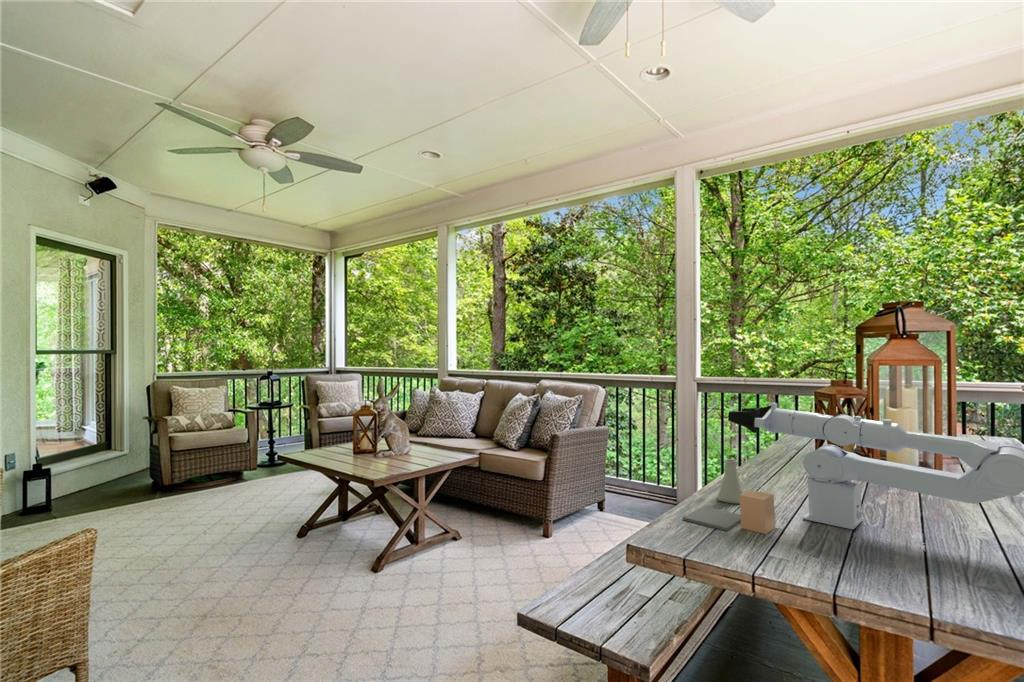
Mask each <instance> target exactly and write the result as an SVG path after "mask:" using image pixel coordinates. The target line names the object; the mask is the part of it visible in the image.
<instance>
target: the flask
mask: <svg viewBox="0 0 1024 682" xmlns="http://www.w3.org/2000/svg"><path fill="white" fill-rule="evenodd" d="M723 463H724V465H725V466H724V467H725V469H724V474H723V475H724V476H723V479H722V481H721V482H722V483H721V485H720V488H719V491H718V493H717V499H718V500H717V501H720V502H724V503H728V504H739V505H740V495H741V494H743V493H745V492H746V491H745V490H744V488H743V485H742V482H741V480H740V477H739V474H738V469H737V464H738V459H733V458H726V459H723Z"/></svg>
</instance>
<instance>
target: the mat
mask: <svg viewBox="0 0 1024 682" xmlns="http://www.w3.org/2000/svg"><path fill="white" fill-rule="evenodd" d="M682 520H683V521H686V522H690V523H695V524H698V525H701V526H706V527H709V528H714V529H716V530H717V529H719V530H722V531H725V532H727V531H729V530H730V529H733V528H734V527H736V526H737V525H738V524H741V514H740V513H737V512H736V513H735V512H731V511H727V510H723V509H718V508H714V507H708V506H702V507H699V508H698V509H696V510H693V511H692V512H689V513H688V514H685V515H684V516H682Z"/></svg>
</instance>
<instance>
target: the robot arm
mask: <svg viewBox="0 0 1024 682" xmlns="http://www.w3.org/2000/svg"><path fill="white" fill-rule="evenodd" d="M727 420H728V422H731V423H733V424H737V425H739V426H741V427H744V428H746V429H747V430H749V431H750V432H752V433H754V434H757V433H759V428H761V429H764V430H765V431H767V432H769V433H772V434H775V433H776V434H784V435H787V436H789V435H790V436H795V437H801V438H807V439H808V438H809V439H815V440H818V439H819V440H824V441H829V442H831V443H832V444H825V445H822V446H820V447H818V448H817V449H815V450H813V451H810V452H808V453H807V454H806V455H805V456H804V458H803V463H802V465H803V468H804V471H805V472H806V476H807V491H808V492H807V493H808V494H807V495H808V496H807V497H808V512H807V513H805V514H804V515H803V516H802V519H803V520H806V521H811V522H817V523H822V524H825V525H830V526H834V527H839V528H845V529H848V530H854V529H856V528H857V526H858V525H859V524H860V523H861V522H863V520H864V518H863V509H862V508H863V507H862V495H861V494H862V491H861V487H860V486H861V485H859V484H858V483H856V482H852V481H859V482H865V483H869V484H874V485H879V486H883V487H888V488H894V489H899V490H903V491H909V492H913V493H917V494H921V495H922V494H923V495H928V496H931V497H937V498H941V499H945V500H952V501H957V502H962V503H965V504H973V505H974V504H980V503H986V502H988V501H989V502H990V501H992V500H993V501H994V500H997V499H1002V498H1006V497H1017V496H1018V495H1020V494H1021V493H1023V492H1024V449H1023V448H1020V447H1018V446H1016V445H1015V446H1014V445H1005V444H1004V445H1000V443H999V442H998V443H997V442H994V441H990V440H983V439H976V438H968V437H960V436H951V435H943V434H933V433H926V432H925V433H924V432H915V431H908V430H906V429H905V428H904V427H903V426H902V425H901V424H899V423H896V422H893V419H888V418H884V419H882V421H880V420H875V419H874V420H872V419H865V418H863V417H862V416H861V415H860V416H859V415H856V416H854V417H853V416H850V415H848V414H846V413H843V414H837V415H836V416H834V415H829V414H822V413H820V412H811V411H805V410H803V411H801V410H795V409H786V408H778V403H777V402H771V404H770V405H767V406H765V407H763V406H762V407H748V408H747V407H746V408H741V410H738V411H736V410H734V411H728V415H727ZM834 444H835V445H834ZM851 444H854V445H856V446H858V447H863V448H870V449H876V450H881V451H887V452H892V453H899V451H901V450H903V449H904V448H906V449H911V450H912V449H913V450H918V451H923V452H929V453H931V454H932V453H933V454H939V455H943V456H947V457H953V458H958V459H960V460H961V461H962V462H963V463H965V465H967V466H969V467H970V469H968V470H966V471H965V472H963V473H957V472H956V473H955V472H950V471H945V470H939V469H934V468H928V467H923V466H922V467H921V466H917V465H911V464H906V463H899V462H893V461H888V460H882V459H878V458H877V459H876V458H871V457H865V456H862V455H859V454H857V453H855V452H851V451H846V450H844V449H842V448H841V447H846V446H850V445H851ZM839 446H840V447H839Z"/></svg>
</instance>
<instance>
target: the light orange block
mask: <svg viewBox="0 0 1024 682" xmlns="http://www.w3.org/2000/svg"><path fill="white" fill-rule="evenodd" d="M744 492H745V493H743V494H741V495H740V504H739V509H740V511H739V512H740V513H739V514H741V522H740V528H741V529H742V530H743V529H744V530H748V531H752V532H755V533H758V534H759V533H760V534H763V535H767V534H769V533H770V532H771V531H773V530H774V529H775V528H776V516H775V515H776V514H775V495H774V494H773V493H767V492H762V491H757V490H752V489H748V490H747V491H744Z"/></svg>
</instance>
